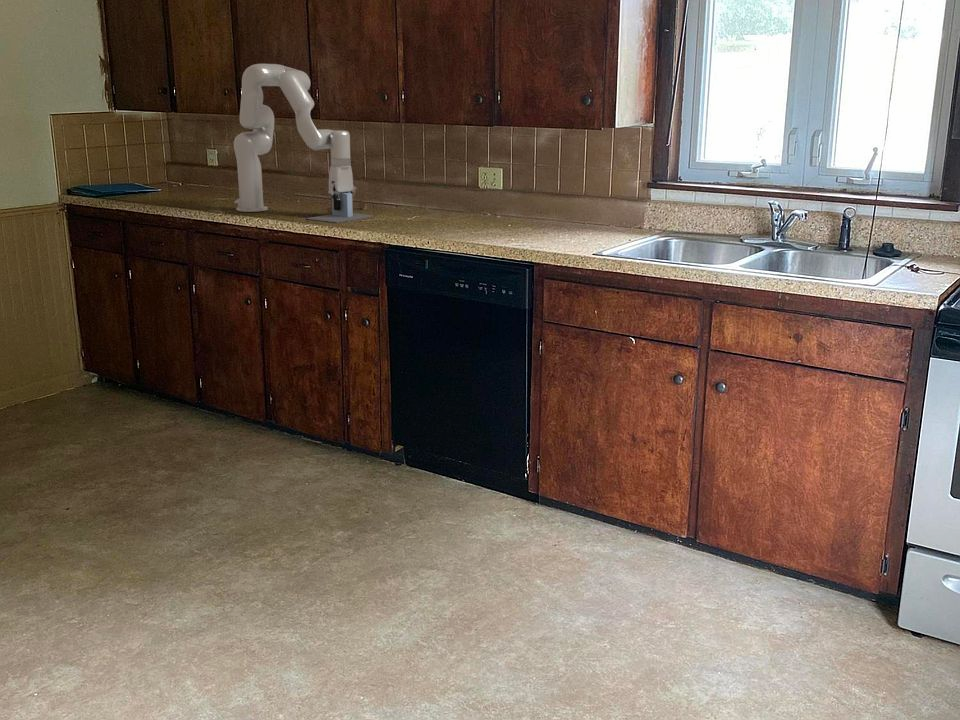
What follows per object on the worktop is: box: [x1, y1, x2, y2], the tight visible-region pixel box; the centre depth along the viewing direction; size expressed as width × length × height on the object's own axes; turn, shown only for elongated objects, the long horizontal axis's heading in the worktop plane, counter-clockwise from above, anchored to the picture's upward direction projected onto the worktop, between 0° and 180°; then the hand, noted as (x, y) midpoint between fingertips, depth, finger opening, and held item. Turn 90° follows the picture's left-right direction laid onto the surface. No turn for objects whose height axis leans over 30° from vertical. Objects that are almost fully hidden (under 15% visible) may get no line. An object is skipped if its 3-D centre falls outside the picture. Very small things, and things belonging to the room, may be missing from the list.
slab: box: [331, 192, 354, 217], centre depth 377 cm, size 8×3×9 cm, turn 57°
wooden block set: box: [352, 184, 368, 211], centre depth 394 cm, size 18×9×10 cm, turn 154°
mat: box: [304, 212, 374, 224], centre depth 375 cm, size 16×22×1 cm
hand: (342, 208), depth 377 cm, fingers open, 5 cm apart
